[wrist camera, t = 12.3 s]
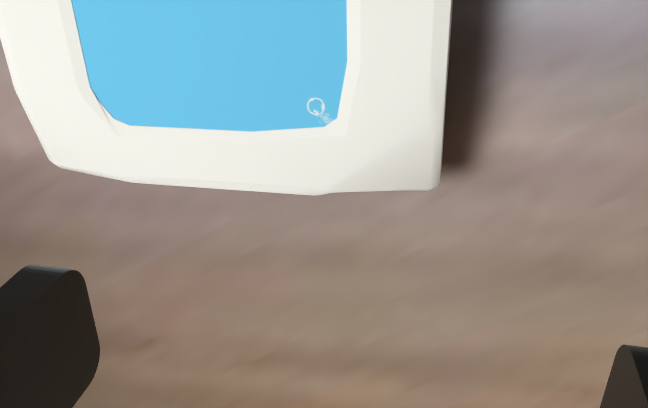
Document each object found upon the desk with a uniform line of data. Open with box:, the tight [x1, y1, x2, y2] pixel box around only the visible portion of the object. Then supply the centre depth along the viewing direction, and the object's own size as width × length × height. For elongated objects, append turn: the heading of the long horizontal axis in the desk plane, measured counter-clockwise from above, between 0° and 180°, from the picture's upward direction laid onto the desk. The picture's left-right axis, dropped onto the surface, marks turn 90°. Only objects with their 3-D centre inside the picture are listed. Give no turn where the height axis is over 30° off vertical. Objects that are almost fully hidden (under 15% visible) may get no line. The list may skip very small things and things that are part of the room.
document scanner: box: [0, 0, 453, 196], centre depth 39 cm, size 21×28×6 cm
